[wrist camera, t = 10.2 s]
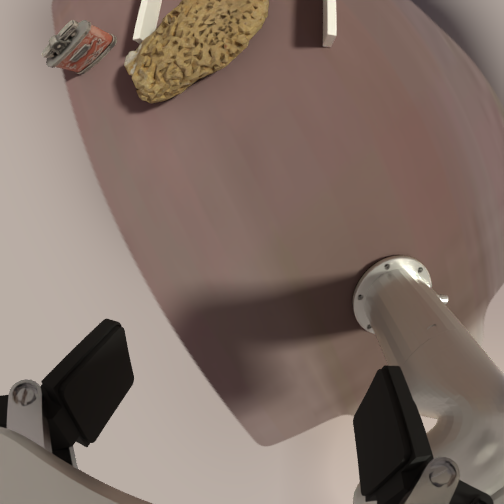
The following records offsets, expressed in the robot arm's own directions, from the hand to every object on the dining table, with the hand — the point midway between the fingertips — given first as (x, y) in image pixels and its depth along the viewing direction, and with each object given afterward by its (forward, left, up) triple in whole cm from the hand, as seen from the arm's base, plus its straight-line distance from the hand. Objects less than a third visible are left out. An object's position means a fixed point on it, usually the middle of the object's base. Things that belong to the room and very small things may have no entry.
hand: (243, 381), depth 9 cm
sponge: (+10, -23, -27) cm, 37 cm away
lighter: (+27, -23, -27) cm, 45 cm away
